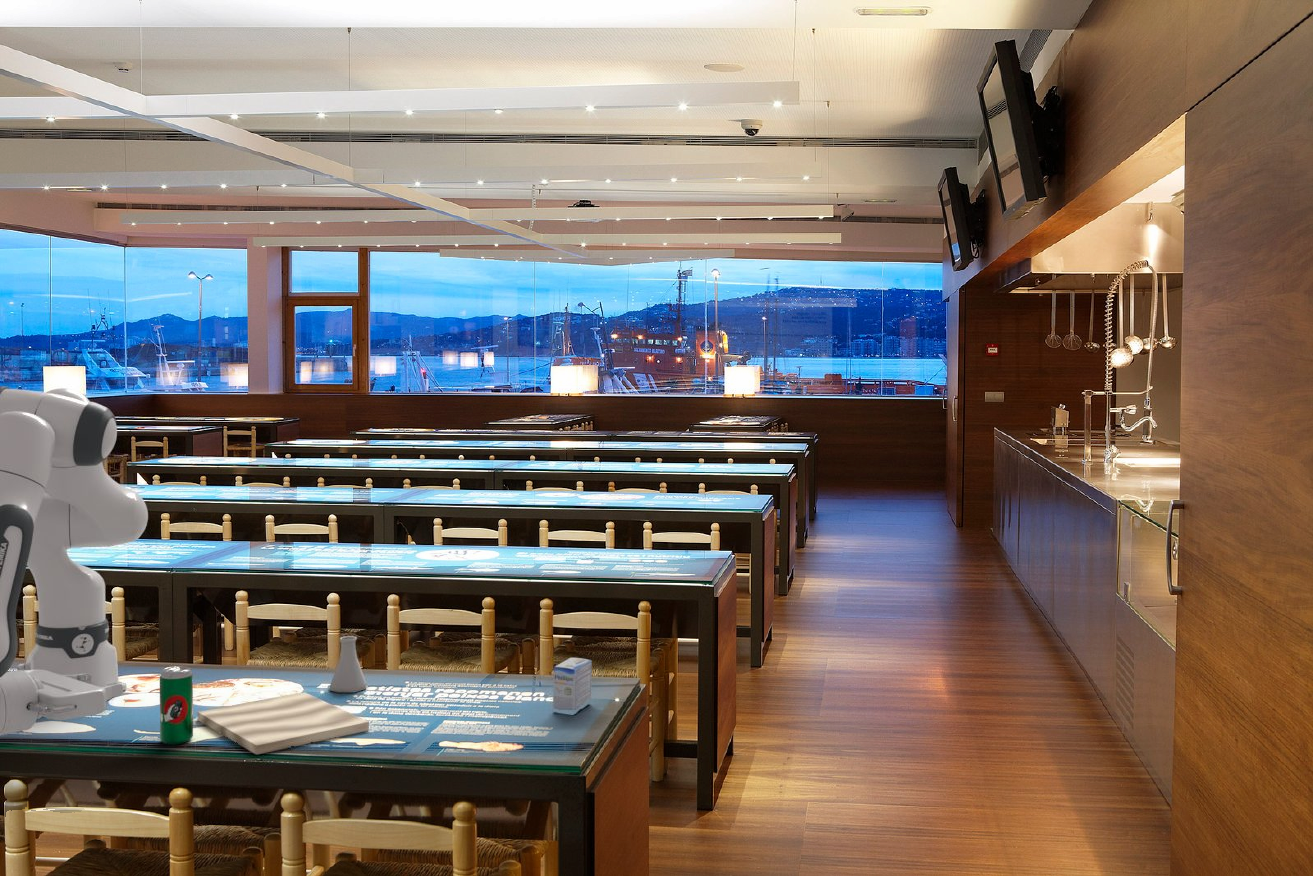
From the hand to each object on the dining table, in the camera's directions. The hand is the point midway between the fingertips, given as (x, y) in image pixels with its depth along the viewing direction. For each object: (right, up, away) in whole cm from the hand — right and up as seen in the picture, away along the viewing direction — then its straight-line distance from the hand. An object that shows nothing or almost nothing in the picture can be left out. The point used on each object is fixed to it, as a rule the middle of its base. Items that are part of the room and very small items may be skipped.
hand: (104, 683), depth 185 cm
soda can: (+7, -12, +11) cm, 17 cm away
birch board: (+21, -11, +20) cm, 31 cm away
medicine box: (+71, -12, +33) cm, 79 cm away
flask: (+27, -10, +44) cm, 52 cm away
